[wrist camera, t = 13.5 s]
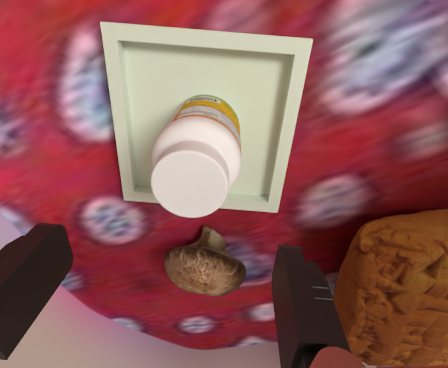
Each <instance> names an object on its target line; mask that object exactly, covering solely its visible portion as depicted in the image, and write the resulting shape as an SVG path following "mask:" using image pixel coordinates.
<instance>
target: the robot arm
mask: <svg viewBox="0 0 448 368" xmlns="http://www.w3.org/2000/svg"><path fill="white" fill-rule="evenodd" d="M72 262H73V254H72V250H71V247H70V243H69V240H68V236H67V233H66V229H65V227H64V226H63V225H59V224H48V223H39V224H37V225H36V226H35V227H33V228H32V229H31V230H30V231H29V232H28V233H27V234H26V235H25V236H21V237H19V238H17V239H16V240H14V241H12V242H10V243H8V244H7V245H6V246H4V247H3V248H2V249H1V250H0V359H2V360H7V359H8V357H9V356H10V355H11V353H12V352H13V350H14V349H15V348H16V346H17V345H18V343H19V342H20V340H21V339H22V338H23V336H24V335H25V333H26V332H27V330H28V329H29V328H30V326H31V325H32V323H33V322H34V321H35V319H36V318H37V316H38V315H39V313H40V312H41V311H42V309H43V308H44V306H45V305H46V303H47V302H48V301H49V299H50V298H51V296H52V295H53V294H54V292H55V291H56V289H57V288H58V286H59V285H60V284H61V282H62V281H63V279H64V278H65V277H66V275H67V274H68V272H69V271H70V269H71V266H72ZM272 295H273V304H274V312H275V321H276V330H277V338H278V347H279V355H280V364H281V368H365V366H364V365H363V364H362V362H361V361H360V360H359V359H358V358H357V357H356V356H354V355H353V354H352V352H351V350H350V348H349V345H348V343H347V340H346V337H345V334H344V331H343V328H342V325H341V322H340V319H339V316H338V313H337V310H336V307H335V304H334V301H333V300H332V299H333V298H332V295H331V292H330V290H329V286H328V283H327V280H326V277H325V274H324V273H323V272H322V270H321V269H320V268H319V267H318V265H317V264H316V263H315V262H308V261H305V259H304V256H303V252H302V249H301V247H300V246H293V245H281V244H280V245H279V247H278V251H277V255H276V260H275V264H274V269H273V274H272Z"/></svg>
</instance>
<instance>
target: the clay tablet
mask: <svg viewBox="0 0 448 368" xmlns="http://www.w3.org/2000/svg"><path fill="white" fill-rule="evenodd" d="M333 301H334V304H335V307H336V310H337V313H338V316H339V319H340V322H341V325H342V328H343V331H344V334H345V337H346V340H347V343H348V345H349V348H350V350H351V352H352V354H353V355H354V356H356V357H357V358H358V359H359V360H360V361H361V362H365V363H366V364H368V365H374V366H401V367H421V366H448V209H439V210H427V211H422V212H418V213H414V214H403V215H395V216H388V217H383V218H382V219H377V220H373V221H370V222H368V223H366V224H364V225H363V226H362V227H360V229H359V230H358V232H357V234H356V235H355V237H354V238H353V240H352V242H351V245H350V247H349V250H348V252H347V254H346V256H345V259H344V261H343V263H342V265H341V267H340V271H339V274H338V277H337V280H336V285H335V290H334V296H333Z"/></svg>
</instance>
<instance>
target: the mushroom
mask: <svg viewBox="0 0 448 368" xmlns="http://www.w3.org/2000/svg"><path fill="white" fill-rule="evenodd" d="M164 266H165V270H166V273H167V275H168V277H169V278H170V280H171V281H172V282H173V283H174V284H175V285H177V286H179V287H180V288H182V289H183V290H184V291H189V292H193V293H198V294H203V295H211V296H222V295H226V294H228V293H230V292H232V291H234V290H236V289H237V288H238V287H239V286H240V285H241V284H242V283H243V281H244V279H245V276H246V268H245V266H244V264H243V263H242V262H241V261H239V260H237V259H235V258H233V257H232V256H231V255H230V254H229V253H228V252H227V250H226V241H225V239H224V237H223V236H222V235H220V234H219V233H218V232H217V231H215V230H214V229H212V228H210V227H208V226H203V228H202V234H201V237H200V238H199V240H198V241H196V242H195V243H192V244H190V245H182V246H178V247H175V248H171V249H170V250H169V251H167V253H166V254H165V257H164Z"/></svg>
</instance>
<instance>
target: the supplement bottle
mask: <svg viewBox="0 0 448 368" xmlns="http://www.w3.org/2000/svg"><path fill="white" fill-rule="evenodd" d="M152 166H153V171H152V174H151V188H152V192H153V194H154V196H155V198H156V199H157V201H158V202H159V203H160V204H161V205H162V206H163V207H164V208H165V209H166V210H168V211H169V212H171V213H173V214H175V215H178V216H182V217H187V218H197V217H203V216H206V215H209V214H211V213H212V212H214V211H216V210H217V209H218V208H219V207H220V206H221V205H222V204H223V202H224V200H225V199H226V196H227V193H228V191H229V190H230V189H231V188H232V186H233V185H234V184H235V182H236V180H237V179H238V176H239V174H240V170H241V141H240V125H239V120H238V117H237V115H236V113H235V111H234V109H233V108H232V107H231V106H230V104H229V103H227V102H226V101H225V100H223V99H221V98H219V97H217V96H214V95H209V94H200V95H196V96H193V97H190V98H188V99H187V100H185V101H184V102H183V103H182V104H181V105H180V106H179V107H178V109H177V110H176V111H175V113H174V114H173V116H172V117H171V119H170V120H169V121H168V123H167V124H166V126H165V127H164V128H163V130H162V131H161V133H160V134H159V136H158V138H157V139H156V141H155V144H154V147H153V151H152Z"/></svg>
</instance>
